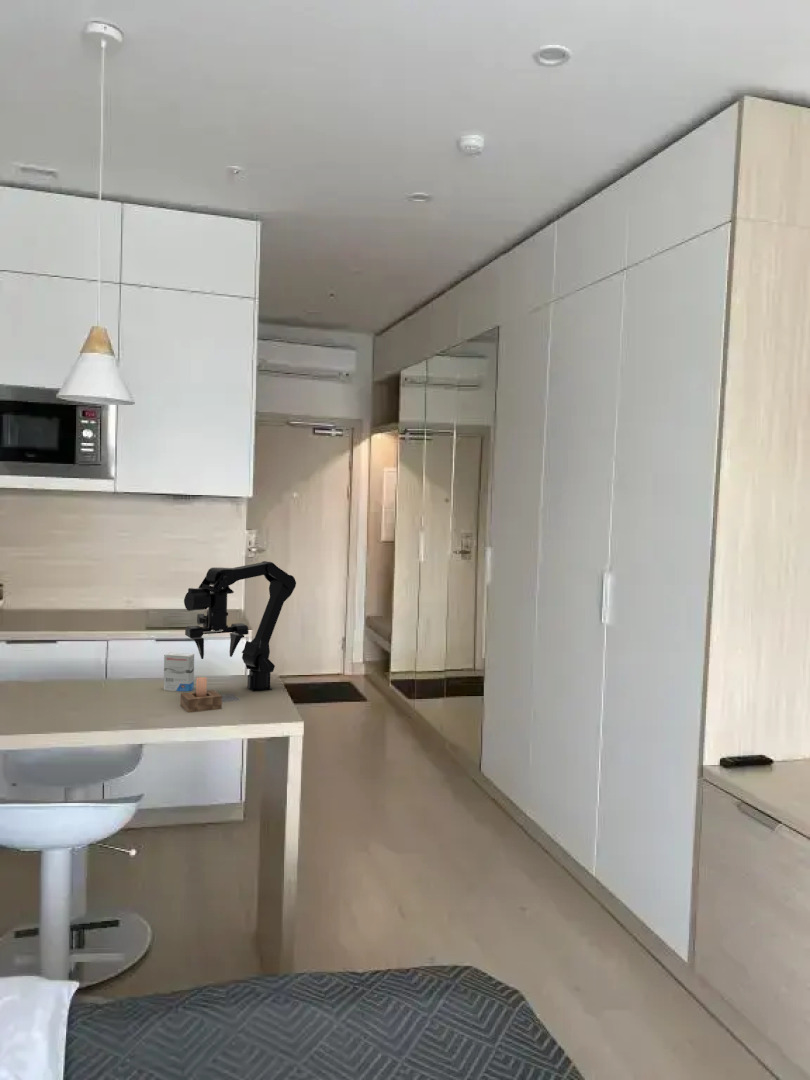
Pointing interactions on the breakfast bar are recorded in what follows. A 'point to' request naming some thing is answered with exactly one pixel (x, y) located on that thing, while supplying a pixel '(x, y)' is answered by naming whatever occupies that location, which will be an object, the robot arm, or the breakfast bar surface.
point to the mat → (229, 698)
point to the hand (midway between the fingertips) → (216, 657)
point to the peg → (201, 687)
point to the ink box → (178, 671)
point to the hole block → (201, 701)
